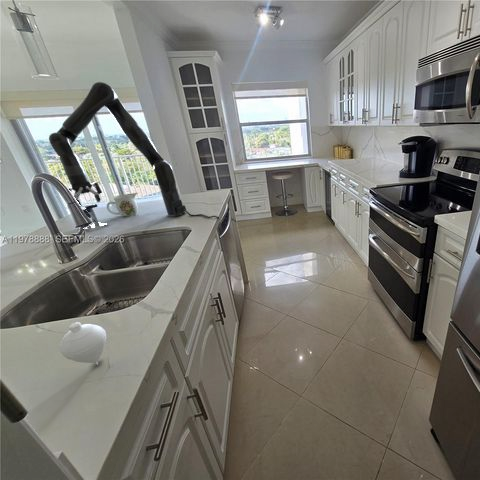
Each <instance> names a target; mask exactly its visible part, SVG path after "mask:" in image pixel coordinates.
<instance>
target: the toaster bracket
mask: <svg viewBox="0 0 480 480" xmlns="http://www.w3.org/2000/svg"><path fill="white" fill-rule="evenodd" d="M88 214H89V216H90V215H91V216H90V219H91V221H92V223H93V224H92V225H90V226H89V227H86V228H85V230H88V231H89V230H93V229H95V228H98V227H102V226H105V225H107V223H104V222H100V221H99V220H98V218H97V216H96V213H95V211H94V208H92V209H90V212H89V213H88Z"/></svg>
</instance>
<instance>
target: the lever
mask: <svg viewBox="0 0 480 480" xmlns="http://www.w3.org/2000/svg"><path fill="white" fill-rule="evenodd" d="M98 207H99V206H98V204H97V203H94V204H90V205H86V206H84V209H85V210H87V211H88V212H90V209H95V208H98Z"/></svg>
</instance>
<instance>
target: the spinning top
mask: <svg viewBox="0 0 480 480" xmlns="http://www.w3.org/2000/svg"><path fill="white" fill-rule="evenodd" d="M68 329H69V331H67V332H66V333H65V334H64V335H63V337H62V339H61V342H60V344H59V352H60V354H61V355H62V357H64V358H66V359H67V360H70V361H74V362H79V363H85V364H95V365H96V366H99V363H98V361H99V360H100V358H101V357H102V354H103V352H104V349H105V348H106V347H105V346H106V342H107V333H106V330H105V329H104V328H103V327H102V326H100V325H97V324H92V323H85V324H81V322H79V321H76V322H73V323H71V324H70V325H69V327H68Z"/></svg>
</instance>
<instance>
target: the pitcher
mask: <svg viewBox="0 0 480 480" xmlns="http://www.w3.org/2000/svg"><path fill="white" fill-rule="evenodd" d="M138 194H139V193H138V192H132V193H125V194H120V195H117V196H113V197H112V199H113V200H114V201H109V202H107V203H106V209H107V211H108V212H109V213H110V214H112V215H116V216H119V215H121V216H122V217H131V216H133V217H136V216H138V212H139V207H138V203H137V201H136V196H137V195H138ZM110 205H114V206H115V208H116V210H117V212H116V211H112V209H111V208H110Z"/></svg>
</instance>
